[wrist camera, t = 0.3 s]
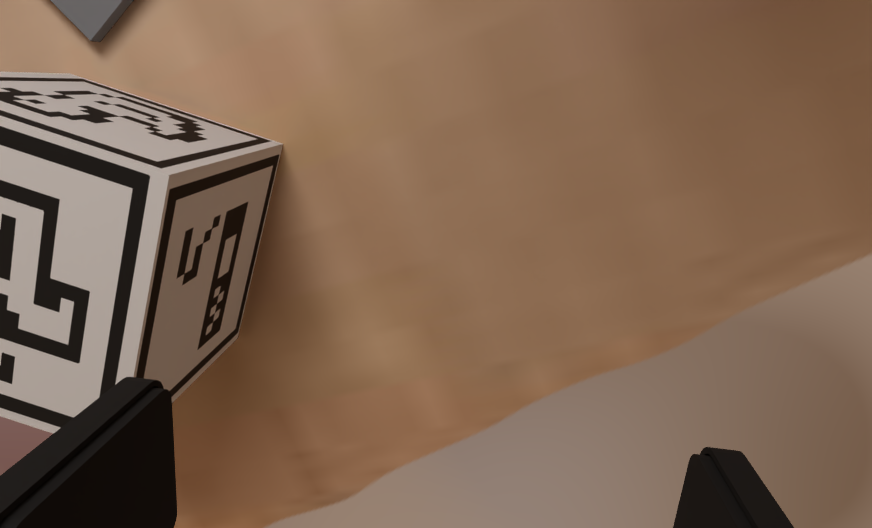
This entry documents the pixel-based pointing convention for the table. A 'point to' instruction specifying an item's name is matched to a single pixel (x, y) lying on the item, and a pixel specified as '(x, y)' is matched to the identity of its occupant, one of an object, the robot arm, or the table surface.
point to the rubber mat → (93, 15)
